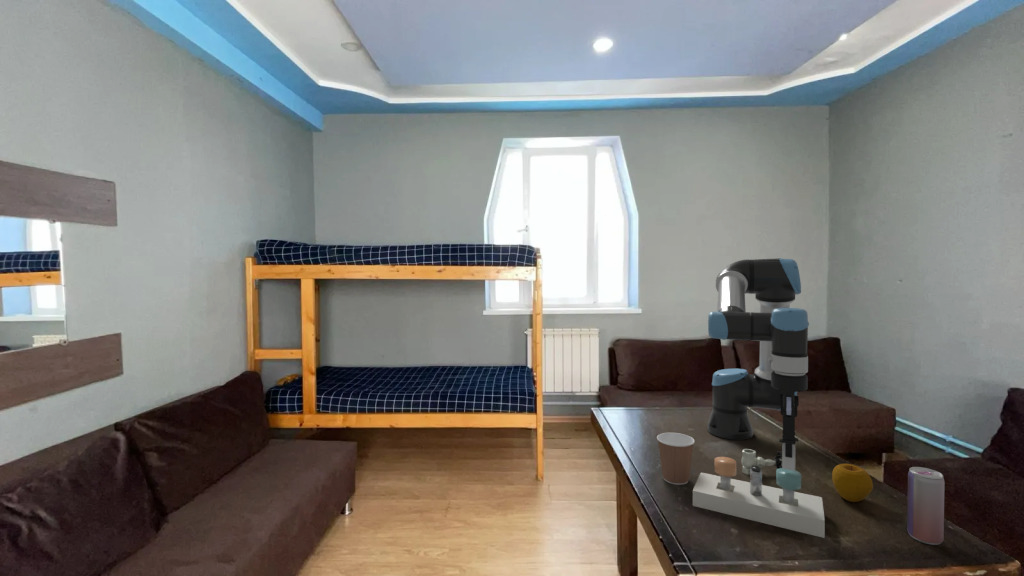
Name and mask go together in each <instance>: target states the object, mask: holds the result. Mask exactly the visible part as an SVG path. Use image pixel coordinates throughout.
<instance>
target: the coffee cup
mask: <svg viewBox="0 0 1024 576" xmlns="http://www.w3.org/2000/svg"><path fill="white" fill-rule="evenodd" d="M656 439H657V442H658V450H659V460H660V467H661V468H660V469H661V474H662V479H663V480H664V481H665V482H667V483H668V484H672V485H675V486H676V485H679V486H681V485H687V484H688V483H689V480H690V477H691V467H692V458H693V452H694V450H693V449H694V444H695V442H696V441H695V439H694V437H692V436H690V435H687V434H684V433H679V432H663V433H660V434H659V433H658V435H657V436H656Z"/></svg>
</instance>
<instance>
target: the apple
mask: <svg viewBox="0 0 1024 576" xmlns="http://www.w3.org/2000/svg"><path fill="white" fill-rule="evenodd" d="M831 475H832V476H831V480H832V483H833V486H834V488H835V490H836V492H837V493H838V495H839V496H840V497H841V498H843V499H844V500H846V501H848V502H852V503H858V502H861V501H863V500H865V498H867V497H868V496H869V495H870V494H871V493H872V491H873V488H874V484H873V479H872V478H871V476H870V474H869V473H868V471H867V470H865V469H864V468H862V467H860V466H858V465H855V464H851V463H840V464H837V465H835V467H834V468H833V470H832V473H831Z"/></svg>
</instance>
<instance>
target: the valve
mask: <svg viewBox="0 0 1024 576" xmlns="http://www.w3.org/2000/svg"><path fill="white" fill-rule="evenodd" d="M756 456H757V451H756V450H753V449H750V448H743V449H742V456H741V460H740V461H741V465H742V470H741V472H742V474H745V475H747V476H750V469H751V468H752V466H758V467H760V468H762V469H763V468H764V467H765V466H767V467H769V466H775V468H776V470H777V469H779V468H782V451H776V456H774V458H773V459H770V458H767V459H765V458H763V457H762V456H757V457H756Z"/></svg>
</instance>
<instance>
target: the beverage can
mask: <svg viewBox="0 0 1024 576" xmlns="http://www.w3.org/2000/svg"><path fill="white" fill-rule="evenodd" d="M908 470H909V471H908V473H907V521H906V522H907V523H906V527H907V528H906V529H907V533H908V534H909V536H910V537H911V538H912V539H914V540H916V541H917V542H920V543H923V544H926V545H931V546H938V545H941V544H943V542H944V537H945V536H944V535H945V534H944V533H945V532H944V529H945V527H944V524H945V523H944V522H945V479H944V475H943V473H941V472H939V471H937V470H934V469H933V468H932V469H931V468H928V467H923V466H922V467H921V466H912V467H909V469H908Z"/></svg>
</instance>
